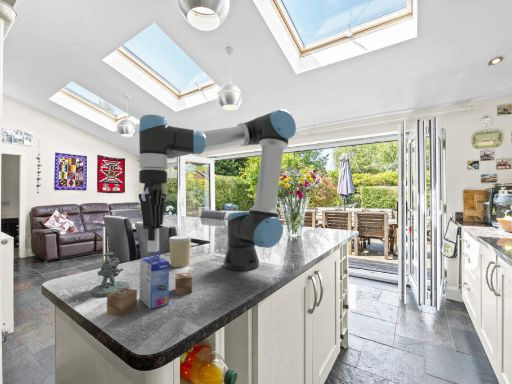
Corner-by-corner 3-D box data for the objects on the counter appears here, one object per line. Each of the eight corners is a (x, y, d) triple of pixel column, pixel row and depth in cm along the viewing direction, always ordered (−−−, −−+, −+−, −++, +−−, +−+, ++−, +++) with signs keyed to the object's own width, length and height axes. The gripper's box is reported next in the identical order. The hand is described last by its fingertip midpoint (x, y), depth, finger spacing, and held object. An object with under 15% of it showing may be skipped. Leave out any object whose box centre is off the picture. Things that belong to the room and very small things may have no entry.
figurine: (87, 299, 75) (87, 259, 75) (94, 287, 85) (94, 251, 85) (127, 293, 79) (127, 255, 79) (129, 282, 89) (129, 248, 89)
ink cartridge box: (170, 304, 71) (170, 253, 71) (150, 310, 68) (149, 256, 68) (157, 293, 79) (157, 247, 79) (138, 298, 75) (138, 250, 75)
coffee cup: (190, 260, 116) (189, 234, 116) (192, 266, 108) (192, 238, 108) (168, 262, 113) (168, 236, 113) (169, 268, 104) (169, 239, 104)
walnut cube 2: (191, 287, 84) (191, 271, 84) (192, 292, 79) (191, 276, 79) (175, 289, 83) (175, 273, 83) (175, 295, 78) (175, 278, 78)
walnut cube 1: (136, 308, 69) (136, 288, 69) (122, 316, 64) (122, 295, 64) (122, 305, 71) (122, 286, 71) (107, 314, 66) (106, 293, 66)
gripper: (151, 171, 80) (151, 246, 80) (128, 167, 67) (128, 256, 67) (174, 171, 80) (174, 246, 80) (156, 167, 67) (156, 257, 66)
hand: (153, 251), depth 73 cm, fingers closed
